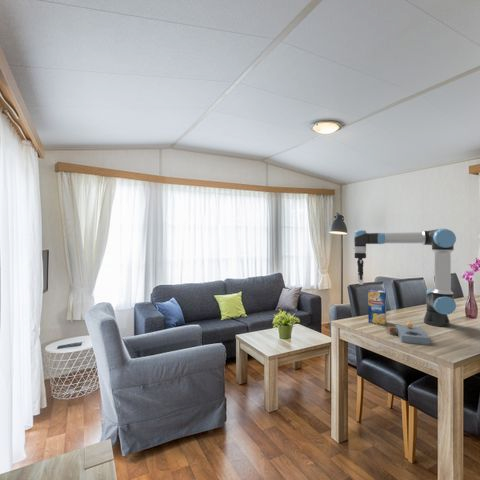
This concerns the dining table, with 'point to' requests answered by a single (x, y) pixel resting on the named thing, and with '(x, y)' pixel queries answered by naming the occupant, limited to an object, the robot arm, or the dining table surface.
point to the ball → (409, 325)
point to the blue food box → (377, 306)
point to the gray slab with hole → (412, 334)
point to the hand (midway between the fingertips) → (360, 283)
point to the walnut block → (392, 330)
